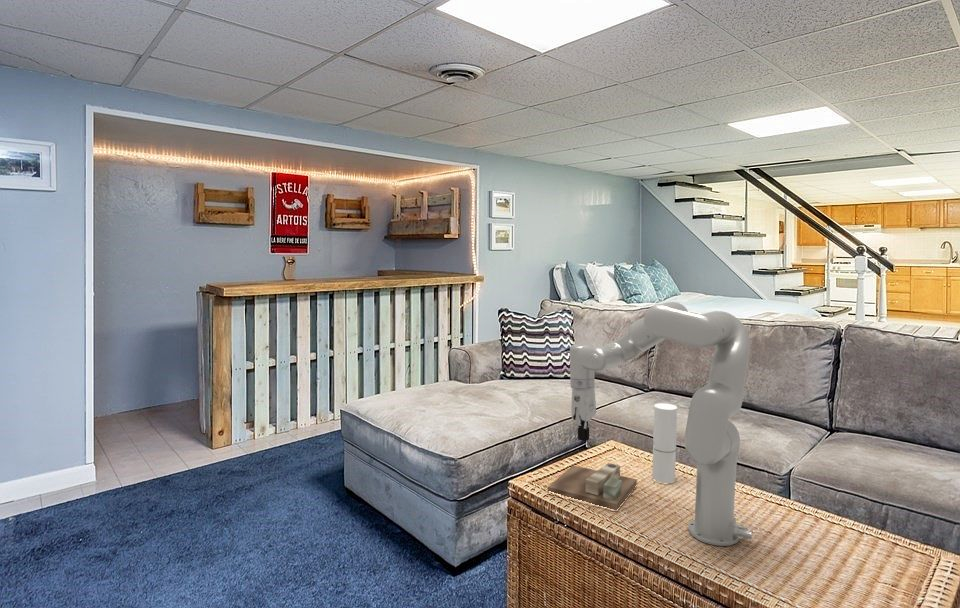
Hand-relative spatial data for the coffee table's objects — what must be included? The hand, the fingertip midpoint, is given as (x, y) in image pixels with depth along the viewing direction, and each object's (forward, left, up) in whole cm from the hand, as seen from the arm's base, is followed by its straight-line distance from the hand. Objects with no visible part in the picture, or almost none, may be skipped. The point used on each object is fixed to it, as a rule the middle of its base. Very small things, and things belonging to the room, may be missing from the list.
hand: (583, 439), depth 173 cm
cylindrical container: (-20, -20, -16) cm, 33 cm away
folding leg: (-7, 0, -13) cm, 15 cm away
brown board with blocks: (-3, 0, -16) cm, 16 cm away
